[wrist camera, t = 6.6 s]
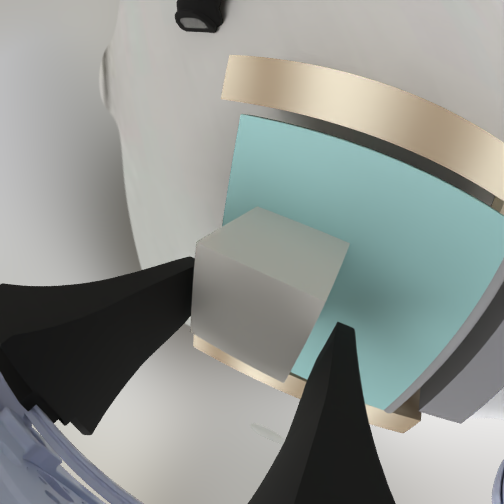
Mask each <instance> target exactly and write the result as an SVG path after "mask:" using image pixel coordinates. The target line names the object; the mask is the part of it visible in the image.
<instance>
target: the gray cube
mask: <svg viewBox="0 0 504 504" xmlns="http://www.w3.org/2000/svg"><path fill="white" fill-rule="evenodd" d="M349 245H350V243H348V242H346V241H343V240H341V239H338V238H336V237H334V236H331V235H329V234H326V233H324V232H322V231H319V230H317V229H314V228H312V227H309V226H307V225H304V224H302V223H299V222H297V221H294V220H292V219H289V218H287V217H284V216H281V215H279V214H276V213H274V212H271V211H268V210H266V209H263V208H260V207H258V206H257V207H255V208H253V209H252V210H250V211H248V212H247V213H245V214H243V215H241V216H240V217H238V218H236V219H234V220H233V221H231V222H229V223H228V224H226V225H224V226H222V227H221V228H219V229H217V230H216V231H214V232H212V233H211V234H209V235H207V236H206V237H204V238H202V239H201V240H199V241H197V242H196V252H195V263H194V276H193V291H192V307H191V327H190V332H191V333H193V334H195V335H196V336H198V337H199V338H201V339H203V340H204V341H206V342H208V343H210V344H211V345H213V346H215V347H216V348H218V349H220V350H222V351H223V352H225V353H227V354H229V355H230V356H232V357H234V358H236V359H238V360H240V361H241V362H243V363H245V364H247V365H249V366H251V367H253V368H255V369H256V370H258V371H260V372H262V373H264V374H266V375H268V376H270V377H272V378H274V379H276V380H278V381H280V382H282V383H284V382H285V381H286V379H287V377H288V375H289V373H290V372H291V370H292V368H293V366H294V364H295V362H296V360H297V359H298V357H299V355H300V353H301V351H302V349H303V347H304V345H305V343H306V341H307V339H308V337H309V335H310V333H311V331H312V329H313V327H314V325H315V323H316V321H317V319H318V317H319V315H320V313H321V311H322V309H323V307H324V304H325V302H326V300H327V298H328V296H329V293H330V291H331V289H332V286H333V284H334V282H335V279H336V277H337V275H338V272H339V270H340V267H341V265H342V263H343V260H344V258H345V255H346V253H347V250H348V248H349Z"/></svg>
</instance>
